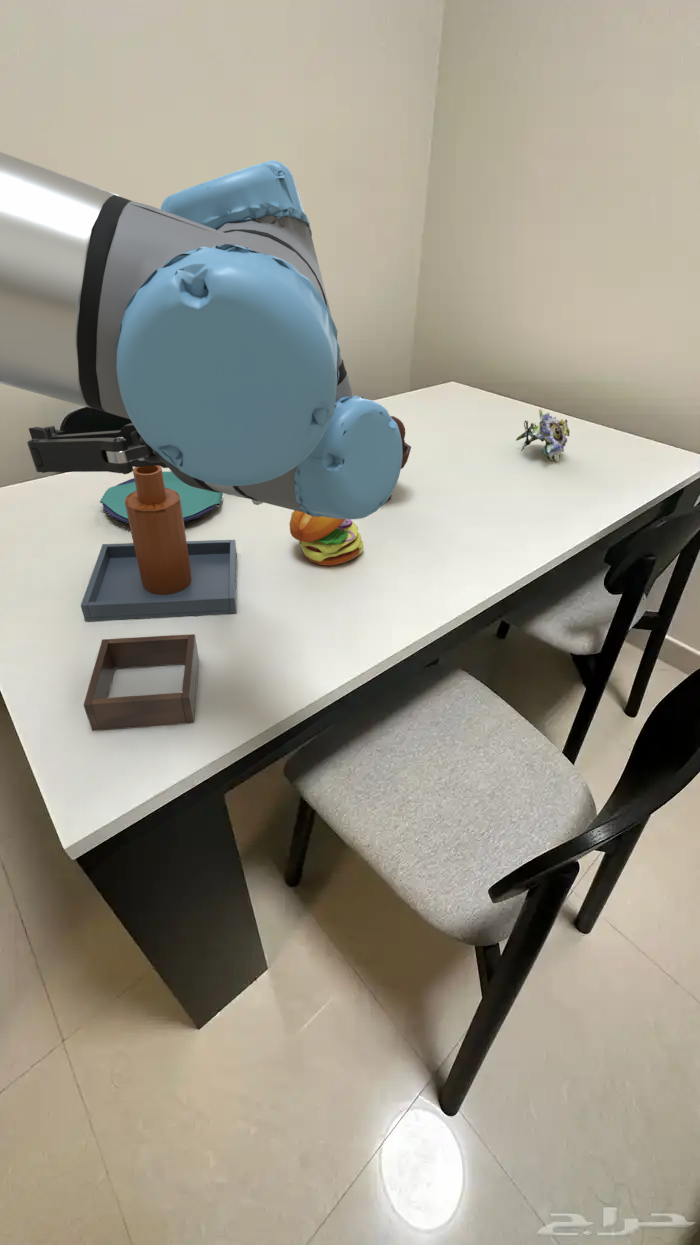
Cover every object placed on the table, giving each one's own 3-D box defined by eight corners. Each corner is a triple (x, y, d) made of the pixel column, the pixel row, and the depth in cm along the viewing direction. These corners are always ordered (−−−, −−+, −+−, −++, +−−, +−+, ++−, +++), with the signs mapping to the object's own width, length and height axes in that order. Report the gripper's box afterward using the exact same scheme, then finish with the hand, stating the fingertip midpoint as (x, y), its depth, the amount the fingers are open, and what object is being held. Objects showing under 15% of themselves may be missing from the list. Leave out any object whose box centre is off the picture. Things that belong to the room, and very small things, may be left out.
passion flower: (547, 483, 131) (560, 453, 120) (503, 464, 133) (512, 433, 122) (568, 444, 133) (583, 411, 122) (524, 426, 136) (535, 392, 124)
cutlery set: (82, 505, 102) (79, 493, 100) (219, 459, 120) (217, 448, 118) (147, 547, 92) (144, 534, 90) (285, 490, 110) (285, 479, 108)
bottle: (139, 596, 80) (114, 481, 70) (145, 569, 86) (123, 459, 75) (190, 593, 81) (172, 480, 71) (193, 567, 87) (177, 458, 76)
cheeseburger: (366, 570, 89) (353, 513, 83) (298, 582, 90) (281, 527, 84) (363, 536, 97) (352, 482, 91) (301, 547, 98) (286, 494, 92)
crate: (92, 731, 62) (83, 704, 60) (109, 664, 70) (101, 639, 68) (193, 722, 64) (189, 697, 61) (198, 658, 72) (195, 633, 69)
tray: (85, 621, 76) (80, 605, 75) (106, 558, 89) (102, 544, 87) (236, 613, 79) (234, 598, 78) (236, 553, 91) (235, 539, 90)
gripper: (88, 537, 40) (-13, 496, 53) (341, 459, 55) (213, 443, 69) (53, 423, 36) (-45, 410, 50) (334, 374, 52) (201, 374, 65)
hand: (104, 429), depth 59 cm, fingers open, 13 cm apart
